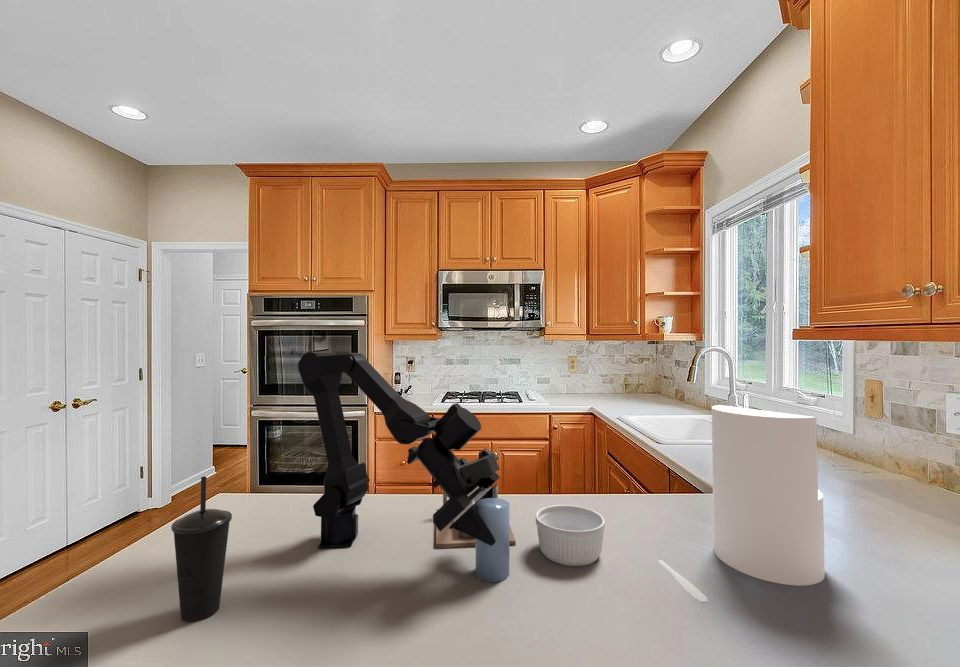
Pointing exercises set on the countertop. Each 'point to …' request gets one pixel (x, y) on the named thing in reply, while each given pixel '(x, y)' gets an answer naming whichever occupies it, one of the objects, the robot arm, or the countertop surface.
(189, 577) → the drinking cup
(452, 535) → the drying rack
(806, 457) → the cylinder
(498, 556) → the pale blue pillar candle
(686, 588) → the butter knife
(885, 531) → the countertop surface
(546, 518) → the ramekin
